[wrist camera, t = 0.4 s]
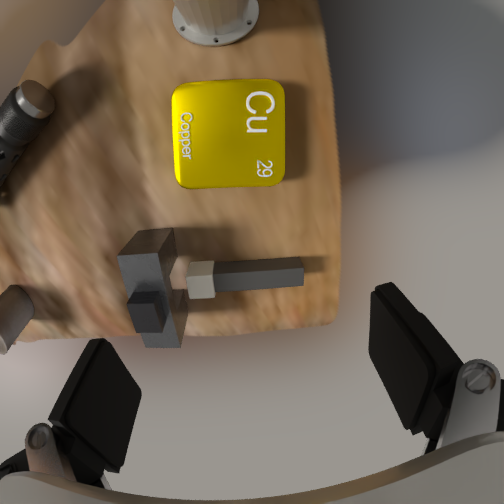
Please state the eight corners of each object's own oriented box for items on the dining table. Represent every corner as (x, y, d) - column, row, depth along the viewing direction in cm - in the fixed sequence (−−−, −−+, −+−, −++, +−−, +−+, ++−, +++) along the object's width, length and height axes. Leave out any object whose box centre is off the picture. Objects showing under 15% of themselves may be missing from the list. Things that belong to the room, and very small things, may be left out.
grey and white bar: (190, 261, 46) (185, 276, 42) (299, 254, 47) (305, 268, 42) (193, 282, 48) (189, 298, 43) (298, 275, 48) (304, 291, 44)
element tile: (177, 88, 35) (169, 83, 31) (280, 84, 36) (285, 78, 31) (181, 184, 41) (174, 191, 37) (280, 181, 42) (285, 187, 37)
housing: (138, 230, 43) (108, 266, 32) (172, 227, 44) (151, 263, 32) (157, 313, 50) (141, 360, 39) (188, 312, 50) (177, 361, 39)
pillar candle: (1, 288, 47) (-32, 324, 33) (21, 281, 46) (-16, 320, 33) (20, 320, 51) (-8, 358, 37) (41, 316, 50) (11, 359, 37)
